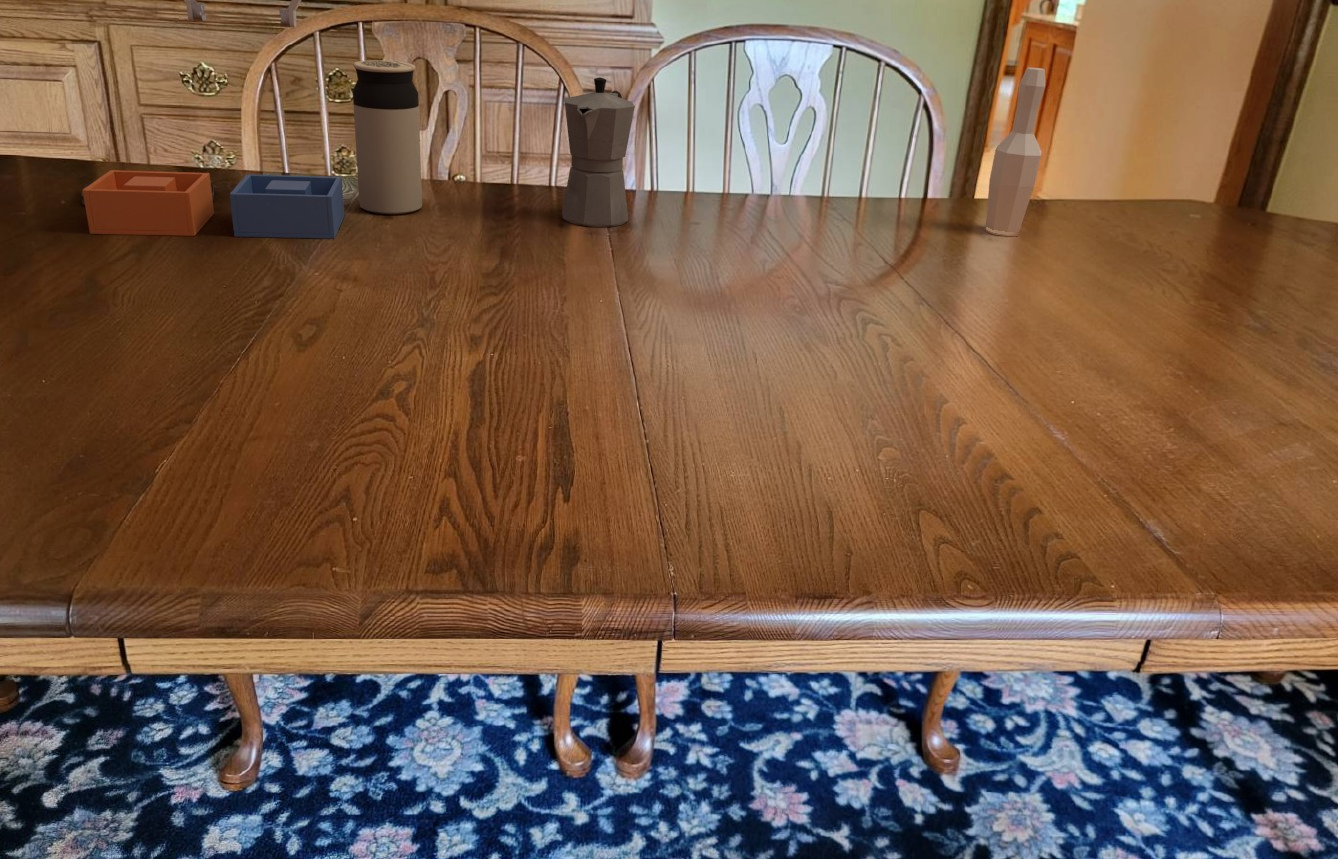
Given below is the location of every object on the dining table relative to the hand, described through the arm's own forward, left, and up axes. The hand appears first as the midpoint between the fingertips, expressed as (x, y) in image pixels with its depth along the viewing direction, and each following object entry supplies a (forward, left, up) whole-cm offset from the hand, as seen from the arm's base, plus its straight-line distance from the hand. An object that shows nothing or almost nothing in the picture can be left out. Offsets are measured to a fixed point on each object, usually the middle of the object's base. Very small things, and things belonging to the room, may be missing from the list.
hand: (243, 23), depth 115 cm
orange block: (-13, +3, -23) cm, 26 cm away
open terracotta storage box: (-16, +15, -23) cm, 32 cm away
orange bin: (-13, +3, -23) cm, 27 cm away
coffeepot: (+41, +11, -23) cm, 48 cm away
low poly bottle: (+98, +8, -23) cm, 101 cm away
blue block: (+3, +3, -23) cm, 23 cm away
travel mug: (+14, +13, -23) cm, 30 cm away
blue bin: (+3, +3, -23) cm, 23 cm away
